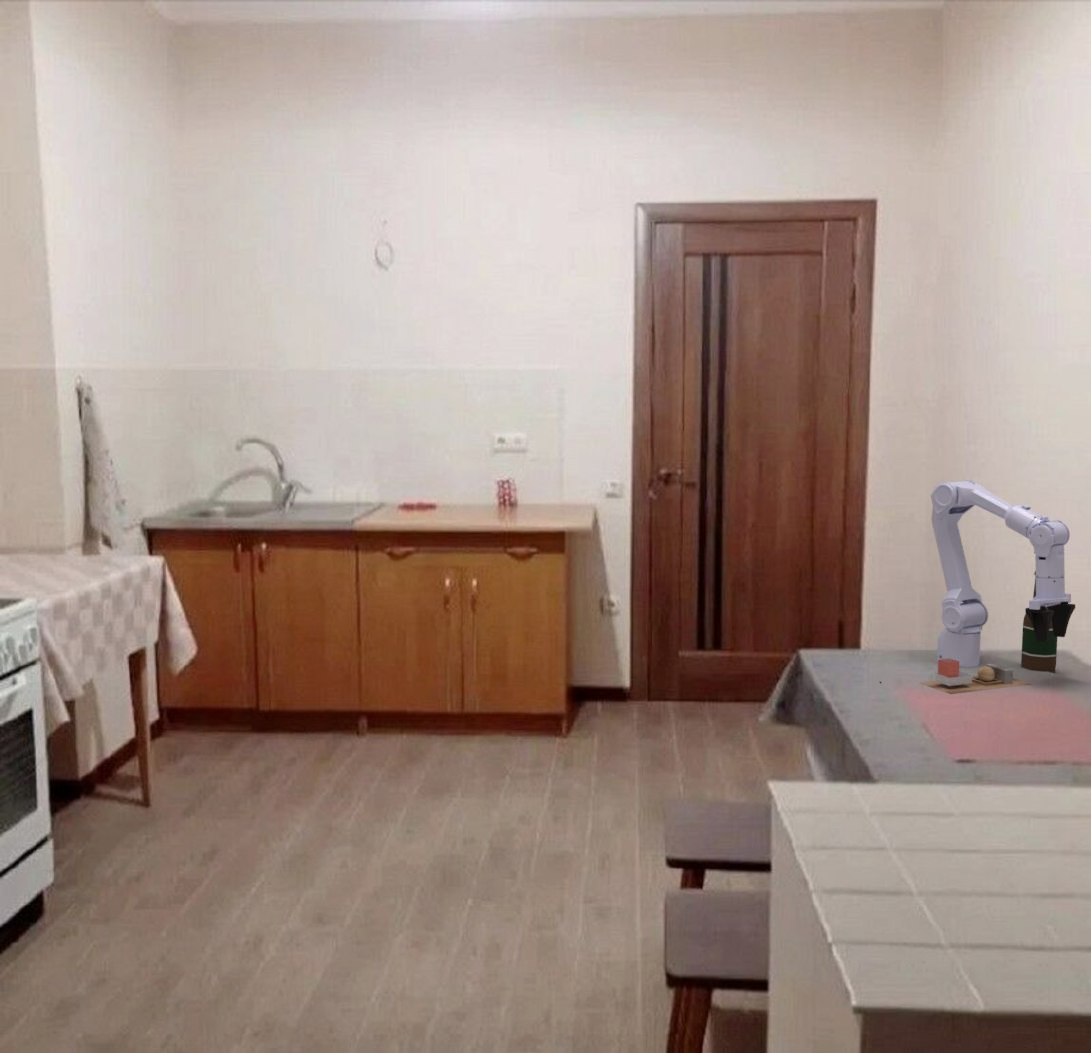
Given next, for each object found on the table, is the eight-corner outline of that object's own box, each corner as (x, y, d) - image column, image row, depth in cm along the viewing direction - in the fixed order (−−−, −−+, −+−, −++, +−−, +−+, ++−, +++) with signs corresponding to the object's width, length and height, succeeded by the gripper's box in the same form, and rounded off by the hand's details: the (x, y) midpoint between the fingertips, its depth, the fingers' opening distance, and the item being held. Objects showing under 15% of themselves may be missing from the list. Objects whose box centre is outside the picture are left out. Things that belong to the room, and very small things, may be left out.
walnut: (973, 680, 244) (974, 665, 243) (986, 679, 245) (987, 663, 244) (985, 684, 240) (986, 668, 240) (998, 683, 242) (998, 667, 241)
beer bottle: (1049, 668, 259) (1054, 567, 257) (1061, 676, 252) (1066, 572, 249) (1015, 668, 260) (1019, 567, 257) (1026, 676, 252) (1031, 572, 250)
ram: (935, 681, 240) (936, 658, 240) (957, 678, 242) (958, 656, 242) (949, 686, 236) (950, 663, 236) (971, 683, 238) (972, 660, 238)
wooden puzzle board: (918, 688, 242) (919, 669, 242) (997, 678, 250) (998, 660, 250) (950, 699, 233) (951, 680, 233) (1031, 689, 241) (1032, 670, 240)
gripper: (1051, 581, 232) (1052, 645, 233) (1084, 574, 241) (1085, 636, 242) (1019, 579, 238) (1020, 641, 238) (1052, 573, 247) (1053, 633, 247)
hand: (1050, 638), depth 241 cm, fingers open, 7 cm apart
